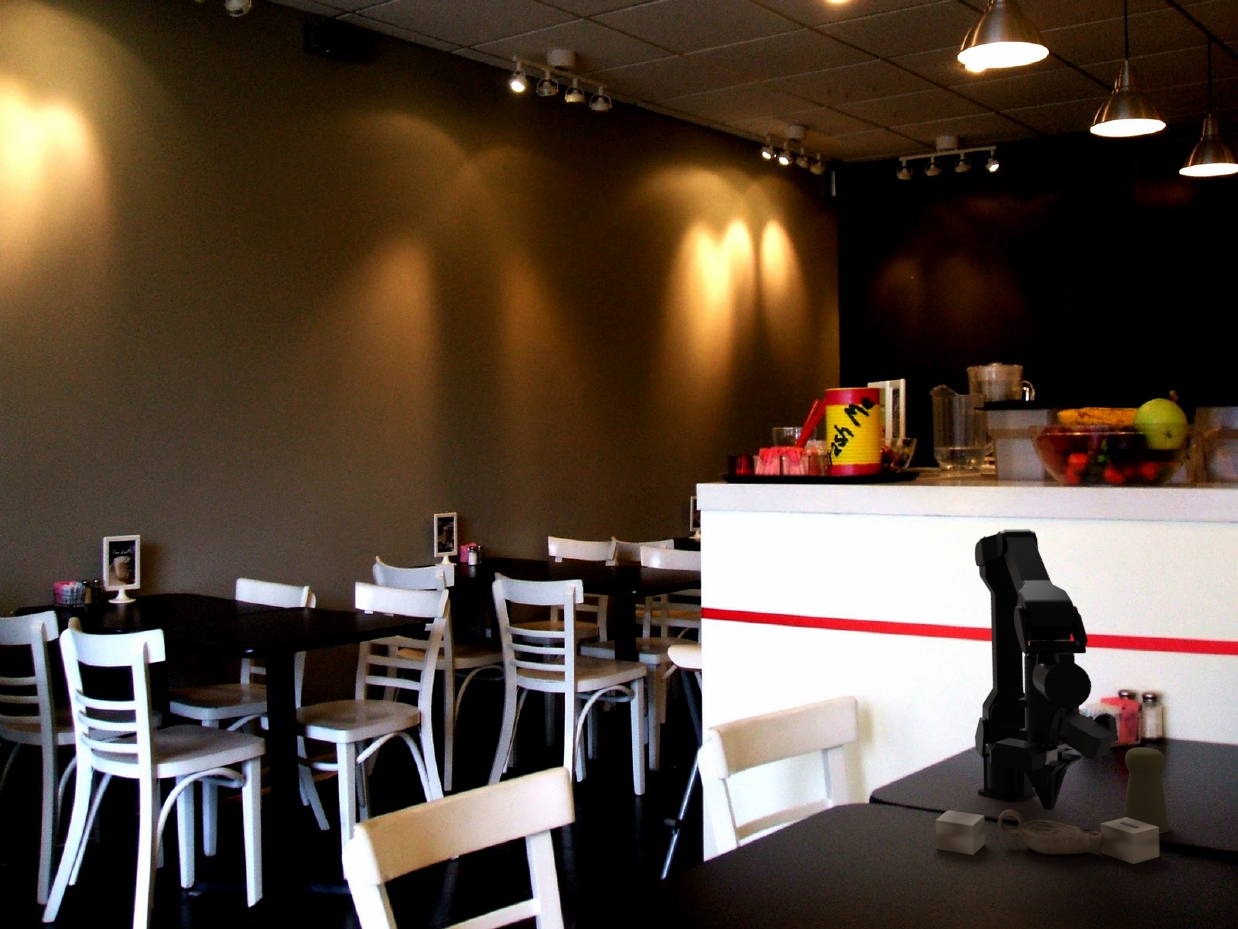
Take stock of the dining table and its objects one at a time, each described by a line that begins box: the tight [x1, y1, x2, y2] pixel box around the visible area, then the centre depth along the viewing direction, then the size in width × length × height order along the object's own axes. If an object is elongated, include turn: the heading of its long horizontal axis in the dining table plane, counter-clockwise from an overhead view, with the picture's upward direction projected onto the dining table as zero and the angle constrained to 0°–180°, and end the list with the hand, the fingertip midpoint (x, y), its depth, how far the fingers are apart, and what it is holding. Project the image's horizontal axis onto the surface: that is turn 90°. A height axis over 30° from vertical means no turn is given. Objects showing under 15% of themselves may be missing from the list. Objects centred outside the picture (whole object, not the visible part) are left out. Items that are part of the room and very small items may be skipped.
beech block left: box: [935, 809, 986, 856], centre depth 167 cm, size 5×5×4 cm
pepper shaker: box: [1123, 746, 1170, 833], centre depth 173 cm, size 6×6×11 cm
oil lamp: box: [997, 809, 1103, 856], centre depth 164 cm, size 13×8×5 cm, turn 65°
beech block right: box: [1100, 817, 1160, 865], centre depth 162 cm, size 5×5×4 cm
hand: (1049, 809), depth 164 cm, fingers closed
